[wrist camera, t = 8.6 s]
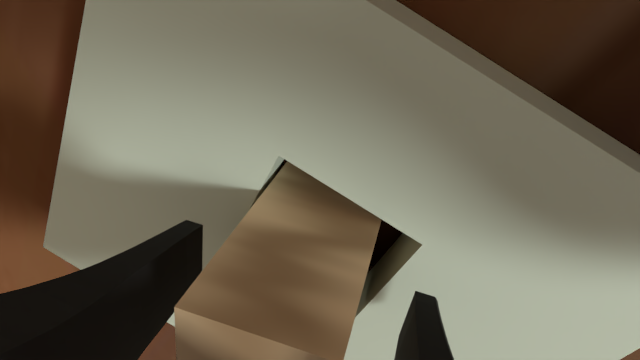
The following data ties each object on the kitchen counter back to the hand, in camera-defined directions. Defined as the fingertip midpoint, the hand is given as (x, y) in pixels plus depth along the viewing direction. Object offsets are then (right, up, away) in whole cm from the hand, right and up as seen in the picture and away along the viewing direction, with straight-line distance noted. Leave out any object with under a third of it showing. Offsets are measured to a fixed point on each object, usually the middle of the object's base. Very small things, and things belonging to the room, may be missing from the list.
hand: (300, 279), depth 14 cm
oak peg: (+1, +2, +3) cm, 4 cm away
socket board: (+1, +2, +3) cm, 4 cm away
